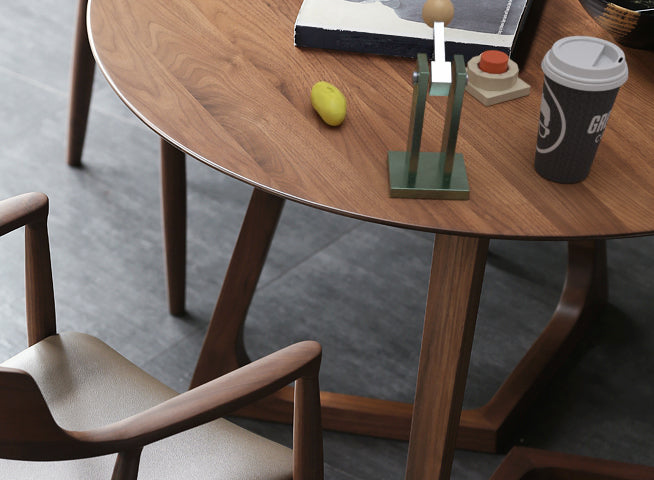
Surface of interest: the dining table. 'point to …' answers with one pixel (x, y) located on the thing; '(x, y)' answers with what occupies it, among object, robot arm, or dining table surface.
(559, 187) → the dining table surface
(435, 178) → the bracket
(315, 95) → the lemon
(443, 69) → the lever
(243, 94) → the dining table surface
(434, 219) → the dining table surface
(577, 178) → the coffee cup
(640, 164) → the dining table surface
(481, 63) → the button
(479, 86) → the button box
